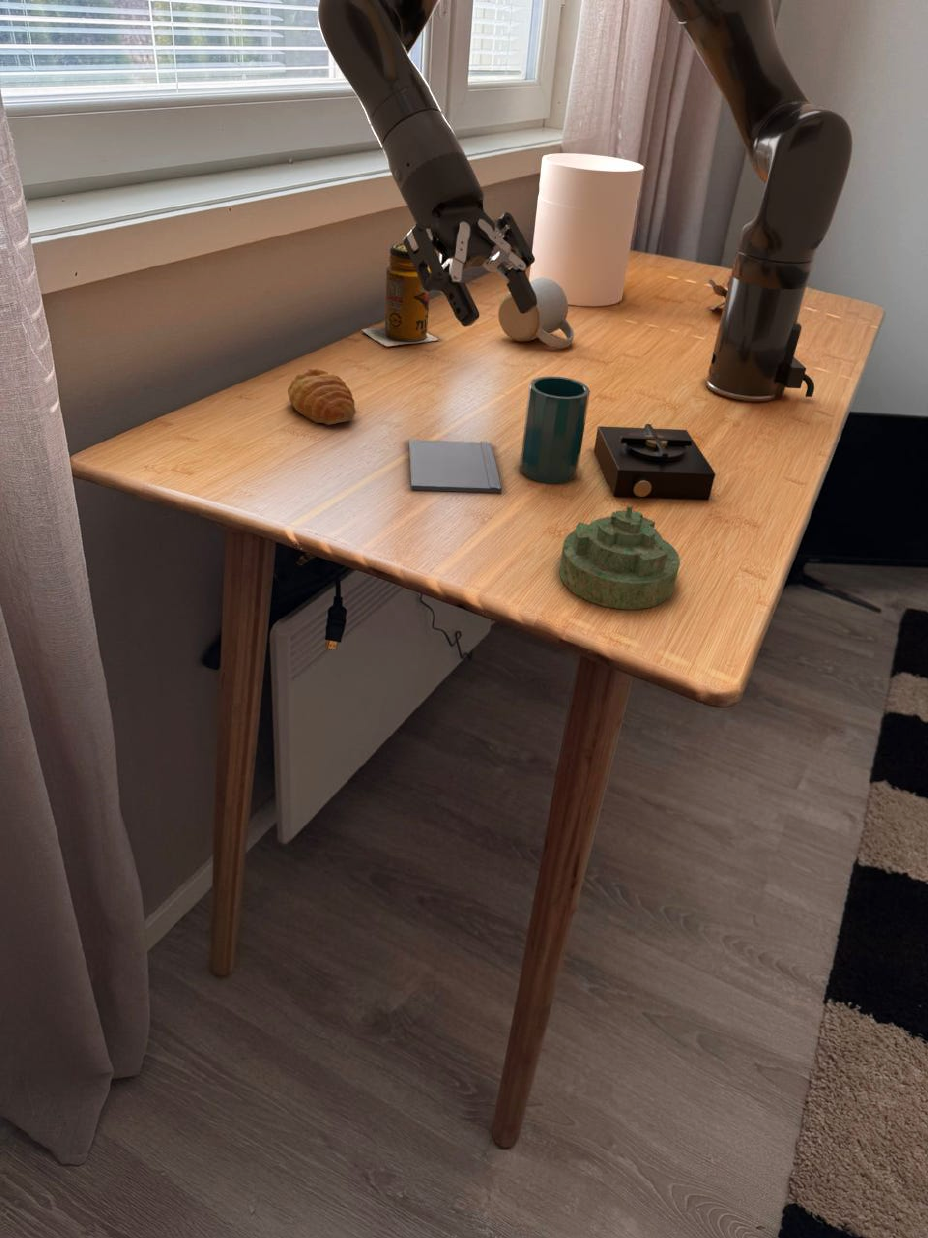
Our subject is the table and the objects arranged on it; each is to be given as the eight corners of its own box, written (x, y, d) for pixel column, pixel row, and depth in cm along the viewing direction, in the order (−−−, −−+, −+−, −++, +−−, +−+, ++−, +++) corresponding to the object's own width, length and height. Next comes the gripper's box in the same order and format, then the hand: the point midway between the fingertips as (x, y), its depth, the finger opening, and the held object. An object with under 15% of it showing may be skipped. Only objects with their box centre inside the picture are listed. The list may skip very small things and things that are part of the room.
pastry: (370, 423, 104) (370, 391, 102) (314, 432, 101) (313, 399, 99) (335, 394, 111) (334, 363, 109) (281, 402, 108) (280, 370, 106)
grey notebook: (490, 447, 102) (491, 442, 101) (500, 493, 93) (501, 487, 92) (408, 443, 101) (408, 438, 100) (411, 490, 92) (411, 484, 91)
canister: (628, 309, 150) (651, 174, 139) (530, 301, 150) (545, 166, 138) (616, 283, 163) (636, 158, 152) (526, 275, 163) (539, 149, 151)
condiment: (439, 340, 130) (444, 251, 123) (386, 347, 126) (389, 255, 119) (412, 325, 135) (416, 238, 128) (361, 331, 131) (362, 242, 124)
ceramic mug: (491, 336, 133) (497, 281, 129) (521, 324, 139) (528, 271, 135) (554, 356, 129) (563, 300, 124) (583, 342, 135) (591, 289, 130)
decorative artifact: (563, 541, 85) (554, 599, 77) (574, 472, 81) (565, 525, 73) (672, 558, 84) (674, 618, 76) (689, 488, 80) (693, 544, 72)
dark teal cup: (571, 459, 100) (583, 377, 95) (580, 484, 96) (594, 399, 90) (516, 457, 100) (526, 375, 95) (523, 482, 95) (533, 397, 90)
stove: (680, 454, 104) (688, 419, 101) (711, 504, 94) (721, 467, 92) (593, 451, 103) (599, 415, 100) (615, 501, 93) (622, 463, 91)
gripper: (397, 152, 87) (473, 306, 87) (501, 145, 96) (570, 286, 96) (361, 201, 93) (432, 346, 93) (462, 191, 102) (527, 323, 102)
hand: (502, 315), depth 95 cm, fingers open, 8 cm apart
